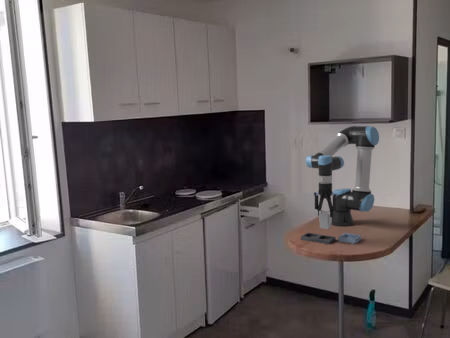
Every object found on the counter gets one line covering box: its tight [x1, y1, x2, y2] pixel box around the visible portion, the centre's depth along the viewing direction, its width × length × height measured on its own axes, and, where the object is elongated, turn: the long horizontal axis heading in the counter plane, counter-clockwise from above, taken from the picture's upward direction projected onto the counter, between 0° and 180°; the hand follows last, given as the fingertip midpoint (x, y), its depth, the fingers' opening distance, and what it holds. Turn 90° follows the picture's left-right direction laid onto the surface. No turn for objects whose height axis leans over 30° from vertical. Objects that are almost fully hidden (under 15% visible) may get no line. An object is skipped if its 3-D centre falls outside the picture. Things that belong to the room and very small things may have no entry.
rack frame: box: [300, 232, 337, 245], centre depth 266 cm, size 9×18×2 cm, turn 53°
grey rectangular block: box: [319, 210, 332, 230], centre depth 262 cm, size 5×5×9 cm
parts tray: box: [337, 232, 362, 245], centre depth 263 cm, size 10×10×2 cm
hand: (325, 221), depth 262 cm, fingers closed on grey rectangular block, 5 cm apart
